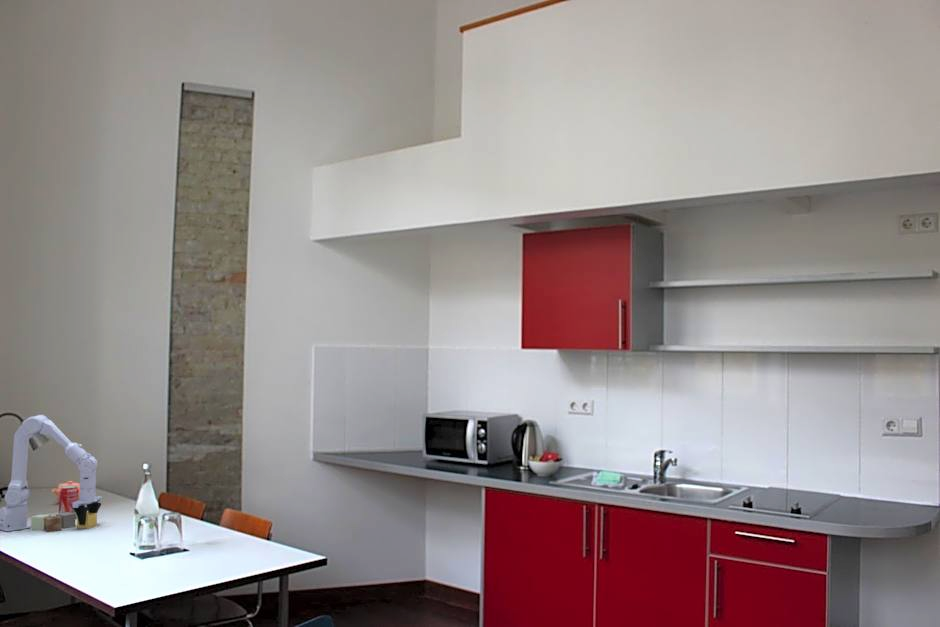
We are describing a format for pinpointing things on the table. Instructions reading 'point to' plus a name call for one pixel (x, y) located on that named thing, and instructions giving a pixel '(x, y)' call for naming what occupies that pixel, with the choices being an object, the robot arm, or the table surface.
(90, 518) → the ochre block
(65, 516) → the slate block
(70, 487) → the soda can
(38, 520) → the pale green block
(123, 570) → the table surface
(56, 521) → the walnut block
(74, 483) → the teapot
